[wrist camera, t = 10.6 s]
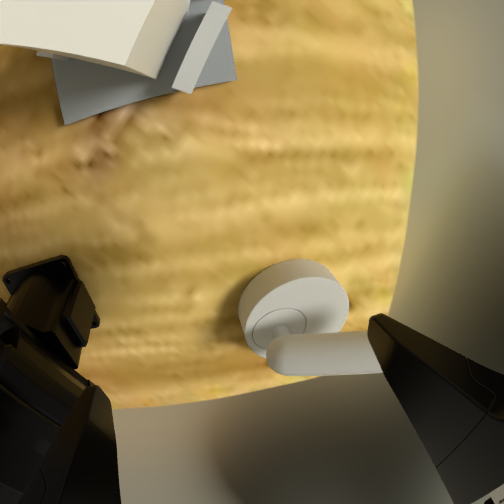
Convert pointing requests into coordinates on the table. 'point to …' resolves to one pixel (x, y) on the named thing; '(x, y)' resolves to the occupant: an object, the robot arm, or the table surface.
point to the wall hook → (303, 322)
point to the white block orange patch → (96, 30)
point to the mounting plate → (169, 78)
